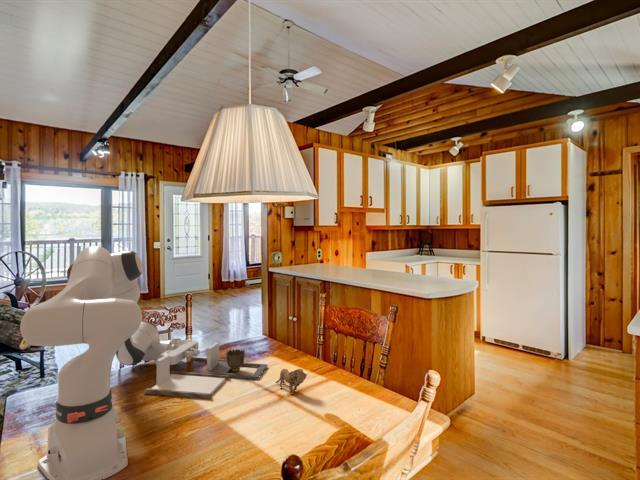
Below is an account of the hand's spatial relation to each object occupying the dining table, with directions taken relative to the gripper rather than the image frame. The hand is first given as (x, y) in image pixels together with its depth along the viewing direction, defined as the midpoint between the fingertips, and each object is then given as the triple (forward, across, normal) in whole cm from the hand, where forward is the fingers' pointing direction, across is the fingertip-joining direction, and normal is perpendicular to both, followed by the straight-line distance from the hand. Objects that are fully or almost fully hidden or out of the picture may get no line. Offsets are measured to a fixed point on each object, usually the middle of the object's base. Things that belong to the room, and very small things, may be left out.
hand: (198, 353), depth 148 cm
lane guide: (+5, -8, +6) cm, 12 cm away
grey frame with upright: (+17, 0, +6) cm, 18 cm away
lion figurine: (+42, -13, +7) cm, 45 cm away
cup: (+16, 0, +6) cm, 17 cm away
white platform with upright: (+5, -17, +6) cm, 19 cm away
